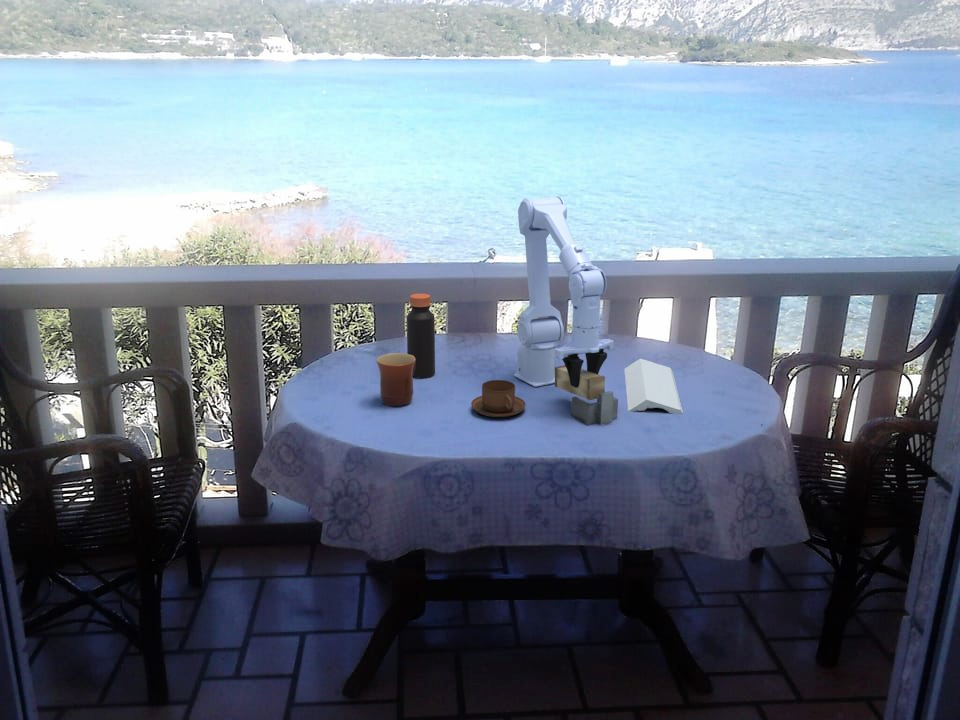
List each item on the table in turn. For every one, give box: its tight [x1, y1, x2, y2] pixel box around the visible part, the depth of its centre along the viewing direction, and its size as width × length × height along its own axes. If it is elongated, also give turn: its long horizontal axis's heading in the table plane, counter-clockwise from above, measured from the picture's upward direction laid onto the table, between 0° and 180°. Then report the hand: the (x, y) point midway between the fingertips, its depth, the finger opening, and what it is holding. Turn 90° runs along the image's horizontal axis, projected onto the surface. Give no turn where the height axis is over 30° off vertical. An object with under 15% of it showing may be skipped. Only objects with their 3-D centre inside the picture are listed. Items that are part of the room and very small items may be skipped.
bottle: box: [406, 293, 436, 379], centre depth 216 cm, size 7×7×20 cm
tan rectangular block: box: [554, 364, 606, 401], centre depth 196 cm, size 13×4×5 cm, turn 31°
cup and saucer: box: [471, 379, 526, 418], centre depth 196 cm, size 12×12×6 cm
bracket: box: [570, 390, 619, 426], centre depth 192 cm, size 7×8×7 cm
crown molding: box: [624, 358, 684, 415], centre depth 210 cm, size 29×12×4 cm, turn 173°
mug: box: [376, 352, 416, 407], centre depth 201 cm, size 12×9×10 cm
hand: (582, 384), depth 195 cm, fingers closed on tan rectangular block, 4 cm apart
